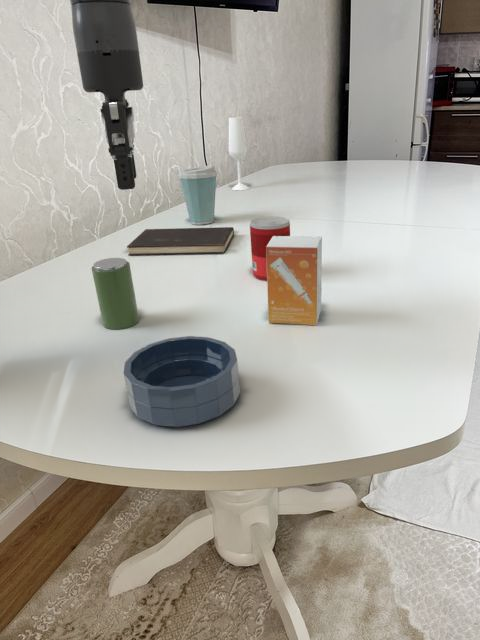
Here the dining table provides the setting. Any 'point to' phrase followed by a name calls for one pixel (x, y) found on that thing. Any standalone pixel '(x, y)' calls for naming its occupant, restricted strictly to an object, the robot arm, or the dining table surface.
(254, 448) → the dining table surface
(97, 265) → the slim can
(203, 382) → the bowl
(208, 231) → the hardcover book
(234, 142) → the champagne flute
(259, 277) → the canned food
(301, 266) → the small box
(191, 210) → the disposable coffee cup
